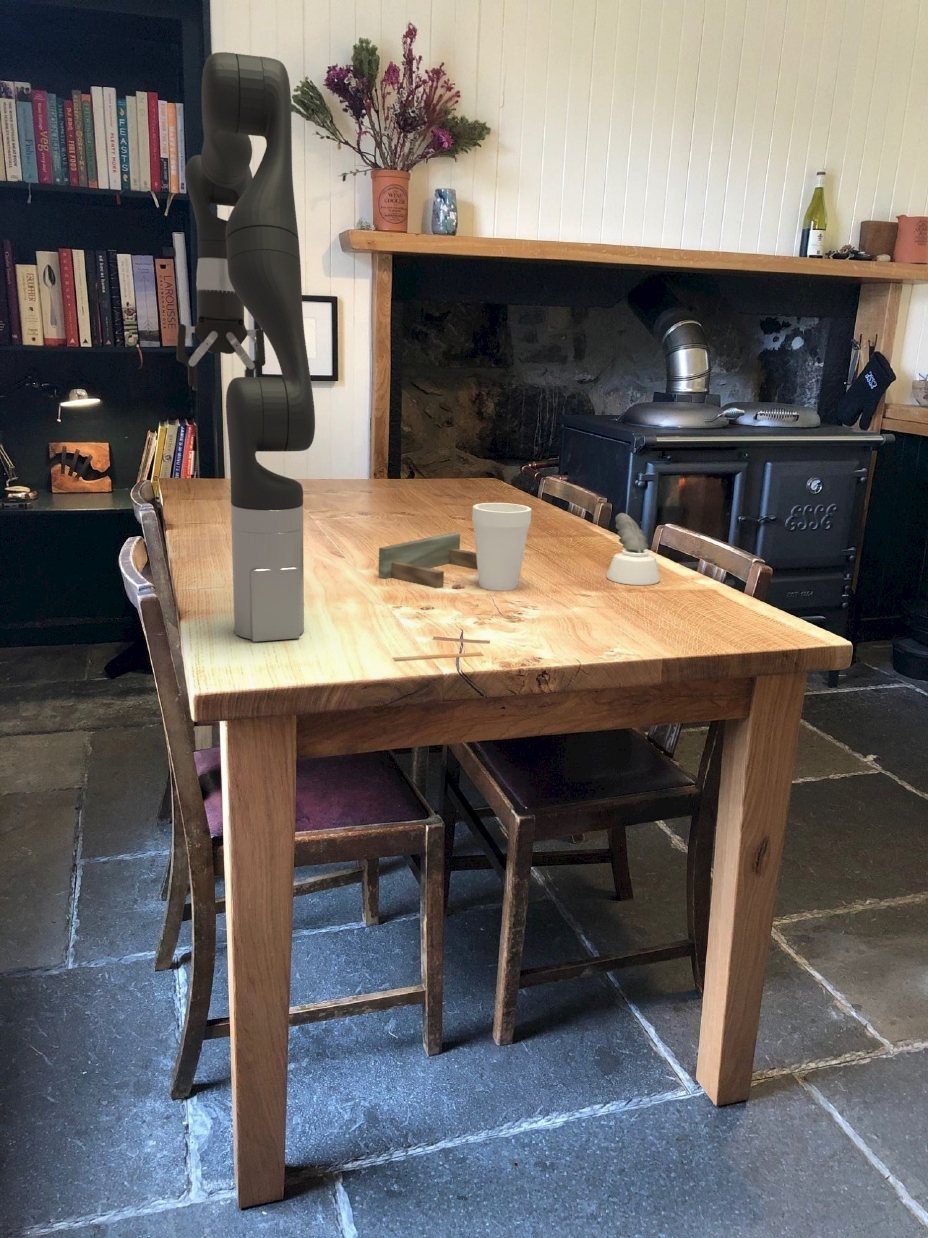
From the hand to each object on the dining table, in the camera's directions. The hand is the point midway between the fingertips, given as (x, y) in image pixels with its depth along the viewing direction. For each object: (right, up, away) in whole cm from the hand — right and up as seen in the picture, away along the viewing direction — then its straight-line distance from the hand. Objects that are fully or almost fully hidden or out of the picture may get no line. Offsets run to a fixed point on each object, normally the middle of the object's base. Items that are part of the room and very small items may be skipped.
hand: (221, 391), depth 164 cm
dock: (+37, -30, +4) cm, 48 cm away
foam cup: (+46, -33, -3) cm, 57 cm away
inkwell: (+69, -30, +10) cm, 76 cm away
